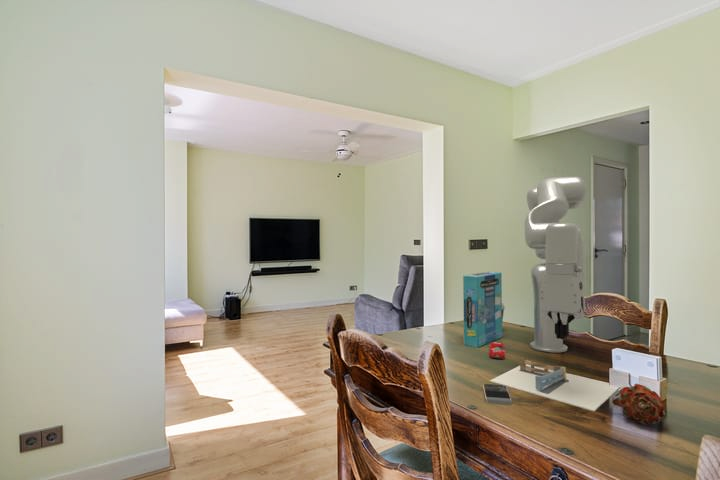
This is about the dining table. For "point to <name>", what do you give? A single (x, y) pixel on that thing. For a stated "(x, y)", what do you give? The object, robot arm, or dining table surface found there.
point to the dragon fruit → (640, 404)
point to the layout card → (560, 388)
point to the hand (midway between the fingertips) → (561, 337)
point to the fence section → (532, 363)
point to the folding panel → (547, 377)
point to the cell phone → (496, 394)
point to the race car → (497, 350)
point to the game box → (482, 308)
